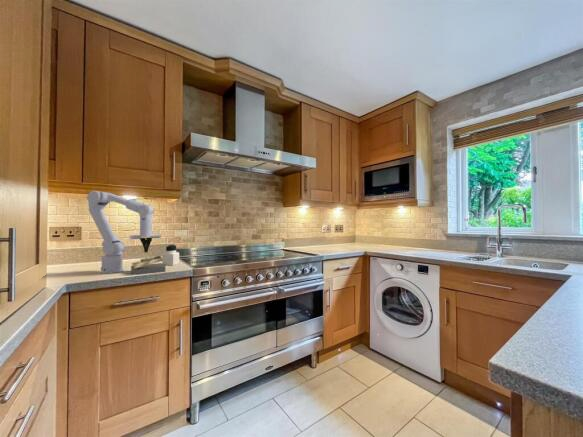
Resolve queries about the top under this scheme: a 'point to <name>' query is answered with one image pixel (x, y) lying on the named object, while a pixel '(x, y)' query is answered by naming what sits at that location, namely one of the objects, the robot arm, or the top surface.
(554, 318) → the top surface
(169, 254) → the medicine bottle
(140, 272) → the instrument base
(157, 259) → the leveling plate
